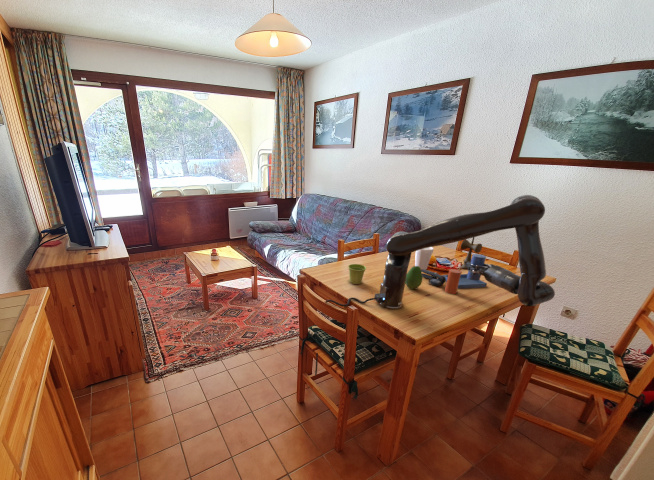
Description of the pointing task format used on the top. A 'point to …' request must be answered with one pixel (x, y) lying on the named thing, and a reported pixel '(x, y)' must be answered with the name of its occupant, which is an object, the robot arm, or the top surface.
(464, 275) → the blue tray
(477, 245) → the kendama
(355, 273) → the plant pot
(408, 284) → the fruit
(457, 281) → the terracotta tin
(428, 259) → the foam cup
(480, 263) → the blue tin
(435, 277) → the can opener
